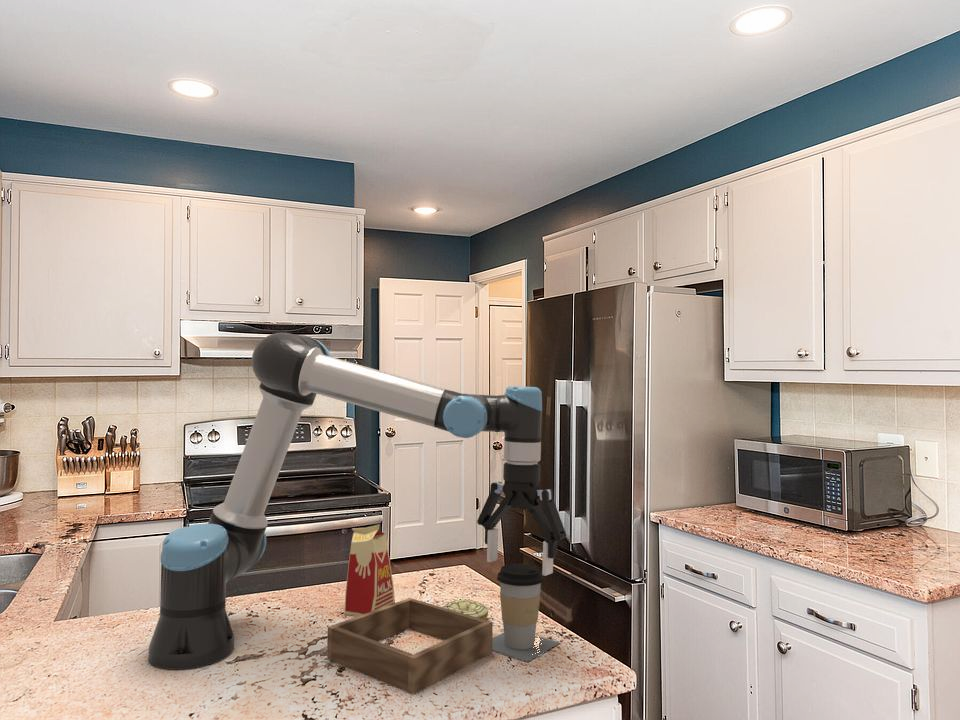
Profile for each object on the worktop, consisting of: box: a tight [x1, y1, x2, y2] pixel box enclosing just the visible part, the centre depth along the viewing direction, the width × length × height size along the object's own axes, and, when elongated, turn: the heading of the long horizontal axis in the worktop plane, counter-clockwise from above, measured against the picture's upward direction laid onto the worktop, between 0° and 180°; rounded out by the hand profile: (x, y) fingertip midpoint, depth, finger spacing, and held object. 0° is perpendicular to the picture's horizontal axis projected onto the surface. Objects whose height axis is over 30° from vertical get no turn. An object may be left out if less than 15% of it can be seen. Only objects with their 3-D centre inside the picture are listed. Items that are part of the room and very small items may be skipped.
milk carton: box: [344, 524, 396, 617], centre depth 154 cm, size 9×9×20 cm
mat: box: [492, 632, 561, 663], centre depth 135 cm, size 12×12×1 cm
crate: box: [326, 597, 494, 695], centre depth 129 cm, size 22×22×6 cm
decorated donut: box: [442, 598, 489, 620], centre depth 148 cm, size 10×11×4 cm
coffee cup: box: [496, 563, 544, 650], centre depth 136 cm, size 9×9×15 cm
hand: (518, 567), depth 136 cm, fingers open, 13 cm apart
